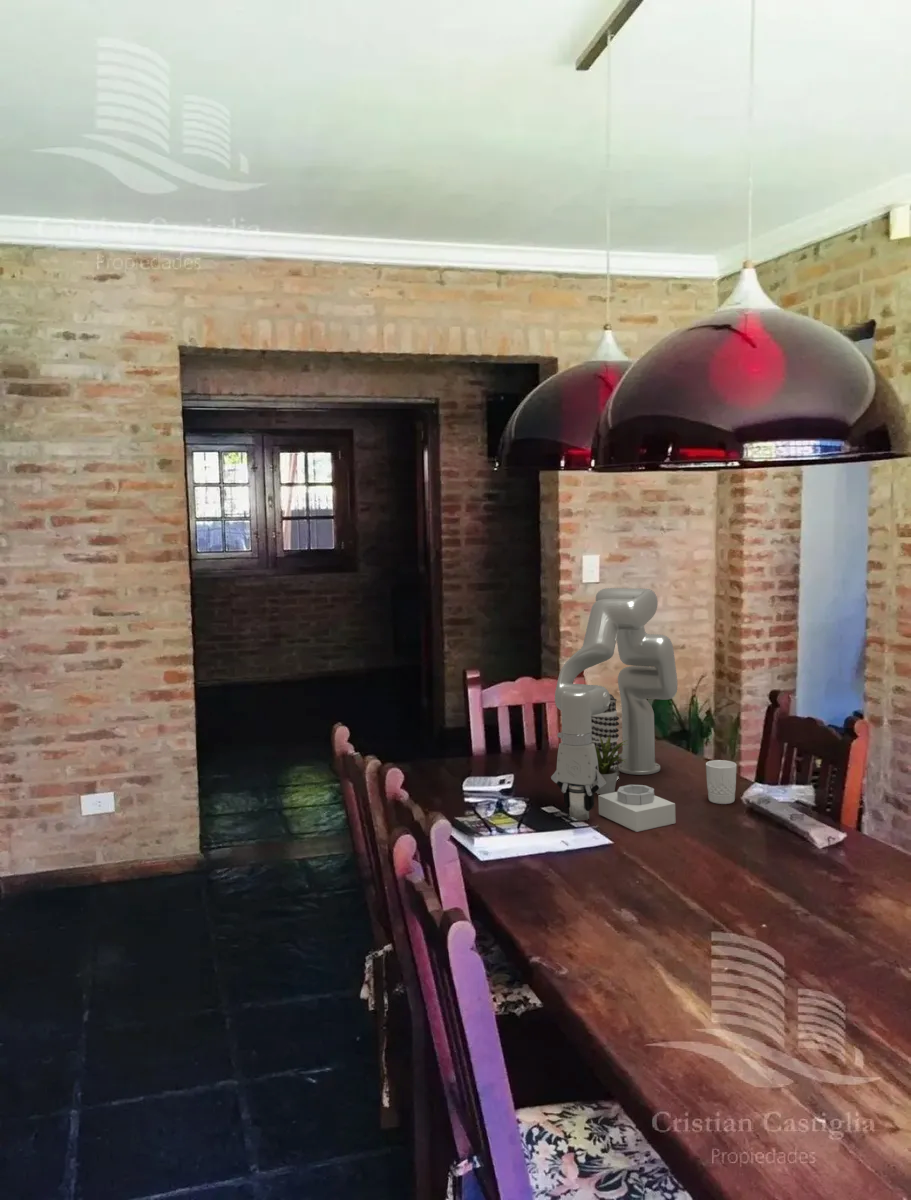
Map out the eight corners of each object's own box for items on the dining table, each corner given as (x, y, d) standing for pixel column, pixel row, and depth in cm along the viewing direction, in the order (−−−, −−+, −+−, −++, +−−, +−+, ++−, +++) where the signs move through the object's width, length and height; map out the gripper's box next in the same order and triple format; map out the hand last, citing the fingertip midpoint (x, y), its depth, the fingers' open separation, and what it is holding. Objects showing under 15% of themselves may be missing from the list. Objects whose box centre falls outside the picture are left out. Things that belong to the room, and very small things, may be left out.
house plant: (637, 801, 249) (636, 741, 248) (586, 802, 250) (584, 743, 248) (628, 785, 264) (627, 729, 262) (580, 787, 264) (578, 731, 262)
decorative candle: (586, 782, 269) (584, 697, 266) (591, 773, 277) (589, 691, 275) (618, 783, 266) (616, 698, 264) (622, 774, 275) (620, 692, 273)
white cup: (740, 804, 243) (740, 767, 242) (710, 805, 243) (709, 768, 242) (732, 795, 251) (731, 759, 250) (703, 796, 251) (702, 760, 250)
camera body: (598, 814, 240) (598, 785, 239) (636, 806, 245) (635, 778, 244) (636, 831, 225) (635, 801, 225) (675, 823, 231) (674, 793, 230)
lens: (565, 817, 238) (564, 782, 238) (582, 813, 240) (581, 779, 240) (576, 822, 234) (575, 787, 233) (593, 819, 236) (592, 784, 235)
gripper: (540, 739, 236) (542, 808, 238) (603, 744, 228) (605, 816, 229) (552, 732, 243) (554, 800, 244) (614, 738, 234) (615, 807, 236)
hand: (579, 807), depth 237 cm, fingers closed on lens, 5 cm apart
